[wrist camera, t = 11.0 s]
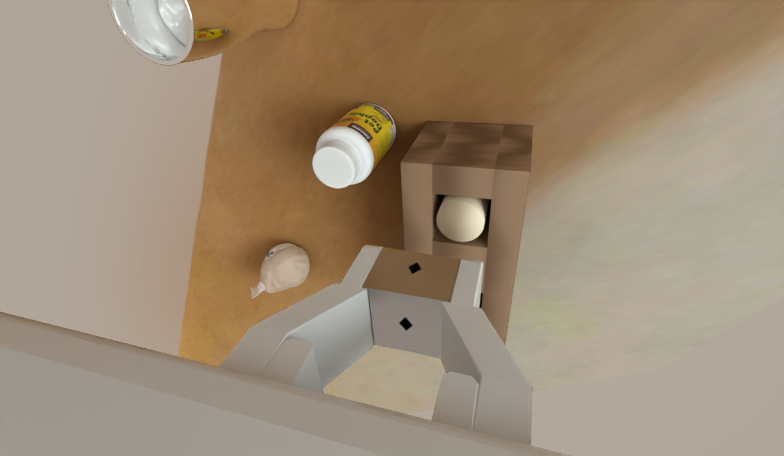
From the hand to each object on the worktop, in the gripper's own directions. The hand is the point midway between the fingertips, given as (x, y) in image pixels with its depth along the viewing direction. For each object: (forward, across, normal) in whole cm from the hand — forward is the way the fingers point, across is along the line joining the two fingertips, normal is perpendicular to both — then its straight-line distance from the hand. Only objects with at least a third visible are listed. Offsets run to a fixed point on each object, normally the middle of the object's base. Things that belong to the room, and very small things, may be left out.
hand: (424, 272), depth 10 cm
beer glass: (+31, +22, -5) cm, 39 cm away
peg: (+30, +2, +12) cm, 32 cm away
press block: (+31, +2, +17) cm, 35 cm away
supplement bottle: (+31, +13, +8) cm, 35 cm away
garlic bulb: (+31, +26, +27) cm, 49 cm away
